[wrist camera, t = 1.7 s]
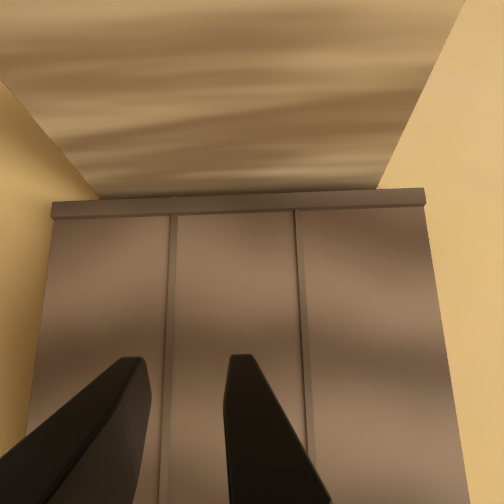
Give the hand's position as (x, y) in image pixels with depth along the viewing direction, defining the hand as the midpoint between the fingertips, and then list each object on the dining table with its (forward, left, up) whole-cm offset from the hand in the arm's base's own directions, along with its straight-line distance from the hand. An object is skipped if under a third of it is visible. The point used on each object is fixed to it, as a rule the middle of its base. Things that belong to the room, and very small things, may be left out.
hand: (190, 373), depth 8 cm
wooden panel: (+1, +1, -14) cm, 14 cm away
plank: (+9, +5, -14) cm, 17 cm away
